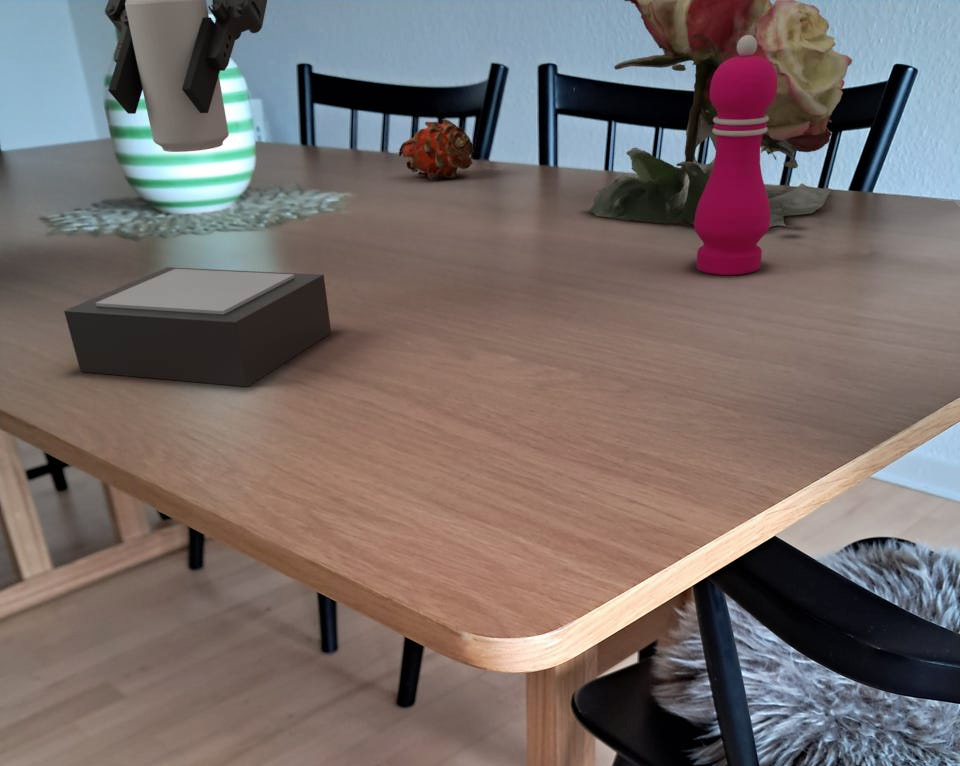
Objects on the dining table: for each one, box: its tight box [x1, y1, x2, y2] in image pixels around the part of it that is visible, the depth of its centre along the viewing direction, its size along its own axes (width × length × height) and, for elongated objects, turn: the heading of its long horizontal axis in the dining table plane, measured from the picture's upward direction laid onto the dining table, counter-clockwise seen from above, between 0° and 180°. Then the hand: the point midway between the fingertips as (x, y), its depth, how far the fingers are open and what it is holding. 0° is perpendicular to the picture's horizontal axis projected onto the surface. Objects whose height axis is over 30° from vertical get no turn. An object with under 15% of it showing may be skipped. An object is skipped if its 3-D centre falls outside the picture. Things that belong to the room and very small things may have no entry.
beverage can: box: [125, 0, 230, 153], centre depth 84 cm, size 6×6×12 cm
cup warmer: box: [63, 266, 332, 388], centre depth 85 cm, size 17×14×5 cm
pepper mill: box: [693, 35, 777, 276], centre depth 95 cm, size 7×7×20 cm
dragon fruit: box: [396, 118, 474, 181], centre depth 151 cm, size 8×8×12 cm
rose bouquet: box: [573, 0, 853, 235], centre depth 117 cm, size 26×29×30 cm
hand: (158, 101), depth 82 cm, fingers closed on beverage can, 6 cm apart
